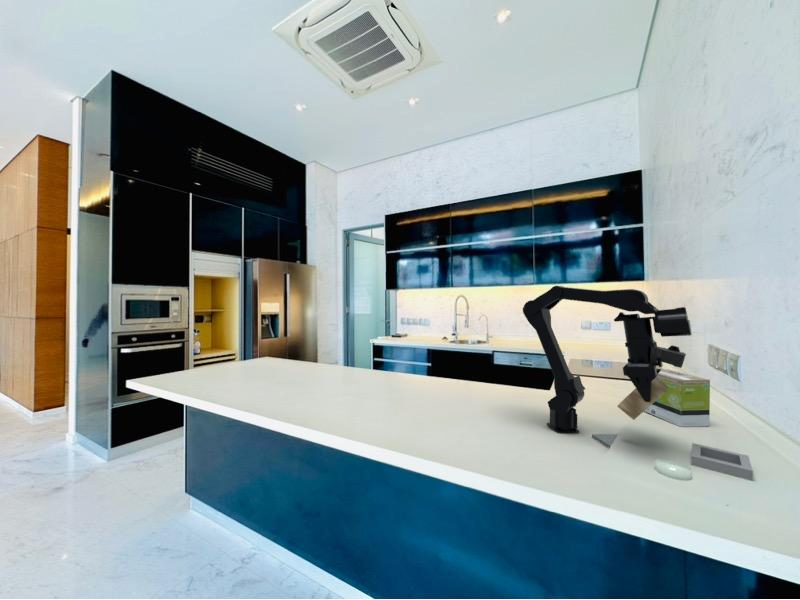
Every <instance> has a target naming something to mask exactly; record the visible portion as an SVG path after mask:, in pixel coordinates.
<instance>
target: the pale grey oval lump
mask: <svg viewBox="0 0 800 600" xmlns="http://www.w3.org/2000/svg"><path fill="white" fill-rule="evenodd" d="M654 461H655V470H656V472H657V473H659V474H661V475H663V476H665V477H668V478H671V479H674V480H679V481H690V480H692V473H693V470H692V468H691V467H689V466H688V465H686V464H684V463H682V462H679V461H677V460H674V459H673V460H672V459H668V458H657V459H656V460H654Z"/></svg>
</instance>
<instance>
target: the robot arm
mask: <svg viewBox="0 0 800 600" xmlns="http://www.w3.org/2000/svg"><path fill="white" fill-rule="evenodd" d="M562 300H565V301H566V300H567V301H574V302H575V301H577V302H583V303H592V304H593V303H594V304H600V305H601V304H602V305H605V306H609V307H611V308H615V309H619V310H623V311H626V312H632V313H630V314H626V313H624V312H623V311H622V312H621V311H620V312H618V315H617V316H616V317H615V318H614V319H613V321H614V322H615V323H616V322H617V323H618V322H622V323H623V329H624V335H625V342H624V344H625V347H626V348H627V356H628V358H627V363H625V365H624V366H623V367H622V372H623V376H625V377H628V378H629V380H630V382H631V383H632V384H633V387H635V389H637V390H638V392H639V393H640V395H641V396H642V398H643V399H644V401H645V402H650V401H651V385H652V380H653V379H654V378H656V377H657V375H658V373H659V372H660V371H661V370H662V369H661V368H662V367H663V363H665V364H668V365H672V366H674V367H676V368H680V369H681V368H683V365H684V362H685V358H686V355H687V354H686V353H685V352H682V351H681V350H680V347H679V346H678V345H677V346H676V345H670V346H669V347H668V348H667V347H663V346H661V347H660V346H658V345H657V342H656V340H654V335H653V329H654V333H655V334H660V336H661V337H666V338H667V337H683V336H684V337H685V336H687V337H688V336H689V337H691V336H692V329H691V327H692V326H691V322H690V321H691V320H690V319H689V317H688V312H687V308H686V307H685V306H684V307H683V306H682V307H675V308H671V309H658V308H657V306H655V305H653V304H652V303H651V302H650V301H649V298H648V295H647V294H646V293H645V292H644V291H642V290H638V289H634V288H628V289H613V290H599V289H598V290H597V289H590V288H589V289H587V288H577V287H566V286H562V285H554V286H552V287H551V288H549V290H547V291H546V292H543V293H542V294H540V295H538V296H537V297H535V298H534V299H533V300H528V301H526V302H525V303H524V305H523V307H522V313H523V316H524V317H525V318H526V320H527V322H528V323H529V324H530V325H531V327H532V328H533V329H534V330H535V332H536V333H537V337H538V338H539V341H540V344H541V346H542V349H543V352H544V353H545V356H546V360H547V362H548V365H549V366H550V370H551V372H552V375H553V381H554V382H553V386H554V387H553V388H554V393H555V395H554V397H551V399H549V400H548V401H547V406H548V407H549V408H548V409H549V422H547V423H546V425H547V427H549V428H551V429H552V430H554V431H555V432H556V433H558V434H559V433H560V434H561V433H562V434H564V433H566V434H571V433H574V434H578V433H580V430H578V414H577V409H576V408H575V407H576V406H577V404H579V403H581V401H582V400H583V399H584V397H585V390H586V387H585V386H584V384H583V383H582V382H583V381H582V378H581V376H580V375H577V376H574V375H573V373H572V372H571V370H570V368H569V367H568V364H567V362H566V359H565V356H564V355H563V351H562V350H561V347H560V344H559V342H558V340H557V338H556V335H555V332H554V330H553V328H552V315H551V311H552V309H553V308H555V307H556V306H557V305H558V304H560V302H561V301H562ZM550 310H551V311H550ZM633 312H639V313H641V314H644V315H652V314H653V315H654V316H646V317H645V316H643V317H642V316H640V314H639V313H633ZM651 320H652V322H651ZM652 323H653V329H652ZM657 367H658V368H657Z"/></svg>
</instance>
